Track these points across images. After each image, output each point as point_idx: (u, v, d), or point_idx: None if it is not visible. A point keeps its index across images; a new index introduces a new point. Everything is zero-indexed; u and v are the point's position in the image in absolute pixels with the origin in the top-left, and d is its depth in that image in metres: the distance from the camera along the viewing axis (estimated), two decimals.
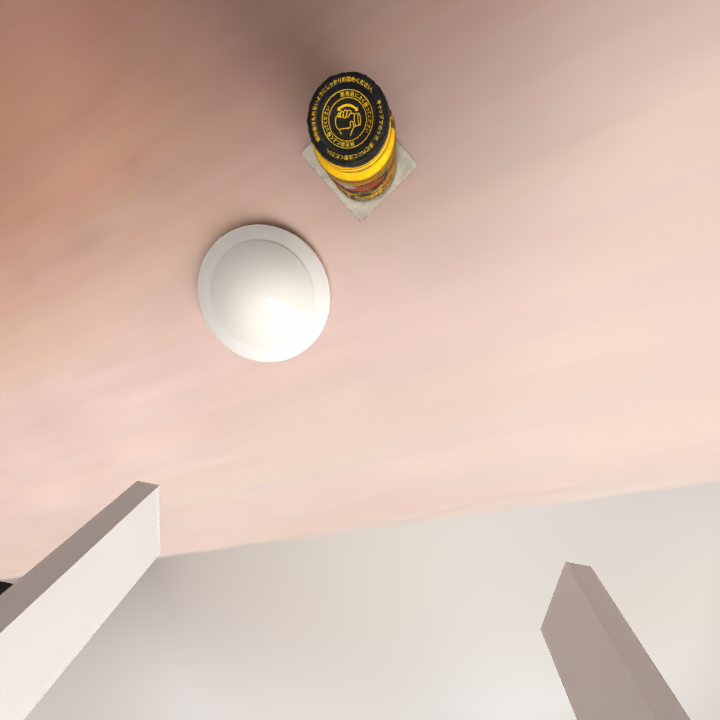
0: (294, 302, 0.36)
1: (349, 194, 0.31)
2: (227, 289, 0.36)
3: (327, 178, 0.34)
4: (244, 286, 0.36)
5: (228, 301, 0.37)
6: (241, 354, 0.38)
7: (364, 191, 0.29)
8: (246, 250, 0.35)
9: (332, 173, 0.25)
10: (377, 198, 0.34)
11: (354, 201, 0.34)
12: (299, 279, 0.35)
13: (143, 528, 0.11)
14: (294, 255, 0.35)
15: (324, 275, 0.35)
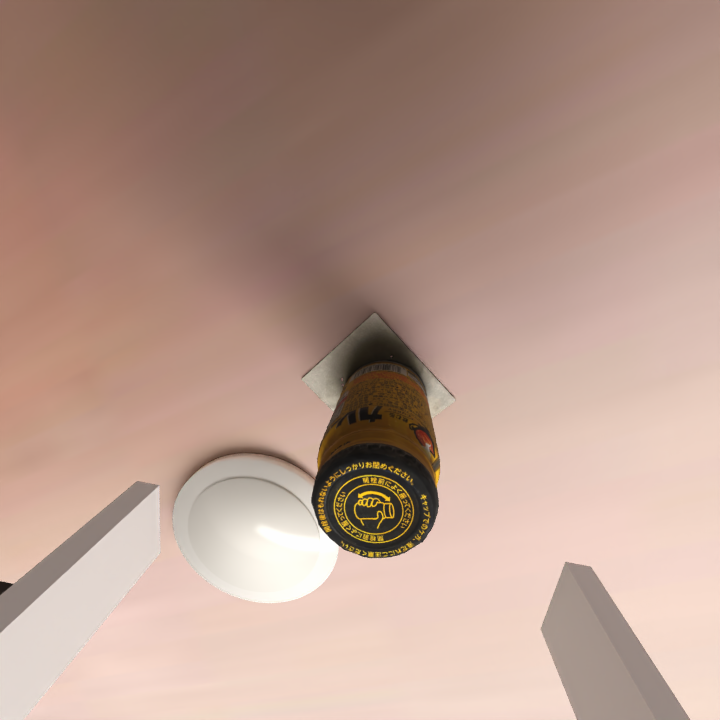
0: (294, 547, 0.28)
1: None
2: (209, 528, 0.29)
3: (336, 408, 0.26)
4: (231, 526, 0.28)
5: (211, 540, 0.29)
6: (229, 592, 0.31)
7: None
8: (233, 489, 0.27)
9: None
10: None
11: None
12: (300, 524, 0.28)
13: (143, 528, 0.11)
14: (294, 497, 0.27)
15: None
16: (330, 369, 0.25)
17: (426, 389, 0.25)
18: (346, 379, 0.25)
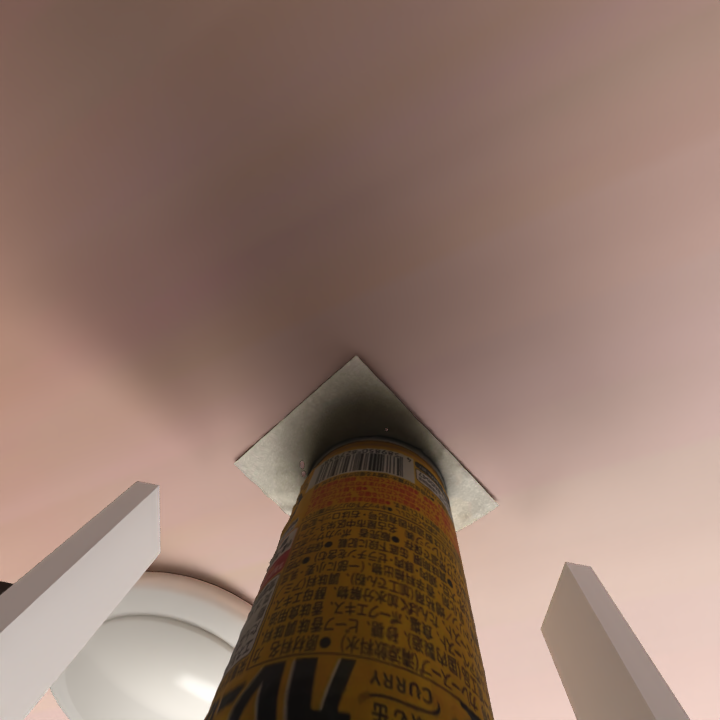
0: None
1: None
2: (99, 686, 0.18)
3: None
4: (132, 685, 0.18)
5: (103, 703, 0.18)
6: None
7: None
8: (129, 634, 0.17)
9: None
10: None
11: None
12: None
13: (143, 528, 0.11)
14: (228, 650, 0.17)
15: None
16: (281, 448, 0.15)
17: (447, 485, 0.14)
18: (309, 465, 0.15)
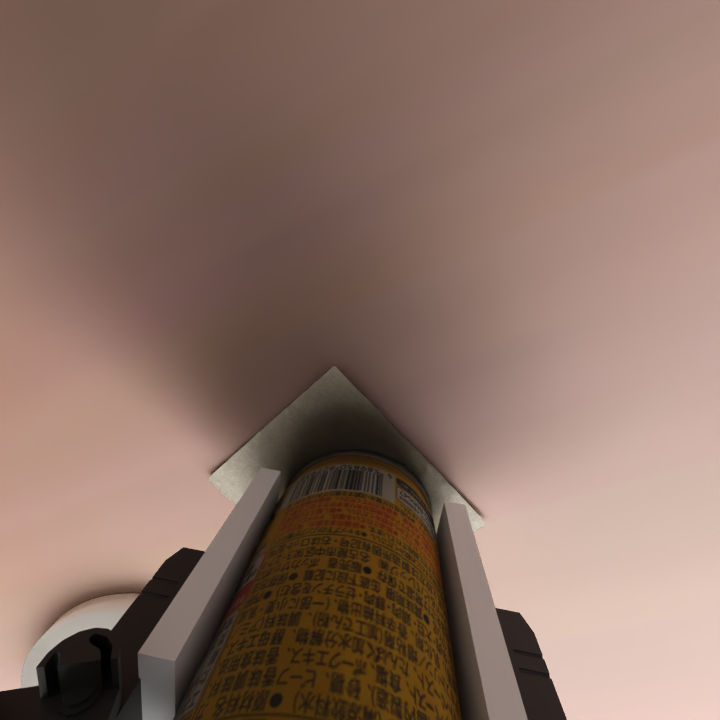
0: None
1: None
2: None
3: None
4: None
5: None
6: None
7: None
8: None
9: None
10: None
11: None
12: None
13: (271, 508, 0.13)
14: None
15: None
16: (257, 463, 0.14)
17: (432, 502, 0.14)
18: (287, 481, 0.14)
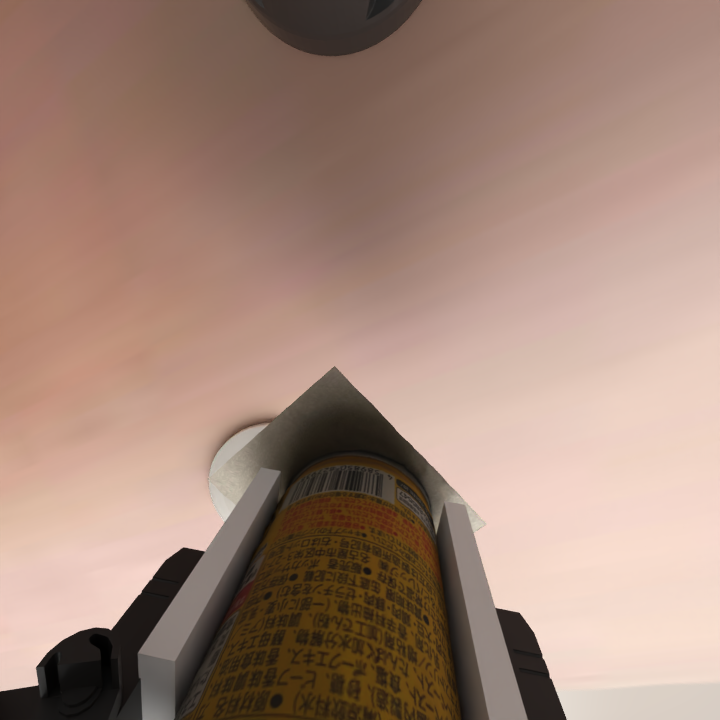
0: None
1: None
2: None
3: None
4: None
5: None
6: None
7: None
8: None
9: None
10: None
11: None
12: None
13: (271, 508, 0.13)
14: None
15: None
16: (257, 463, 0.14)
17: (432, 503, 0.14)
18: (287, 481, 0.14)
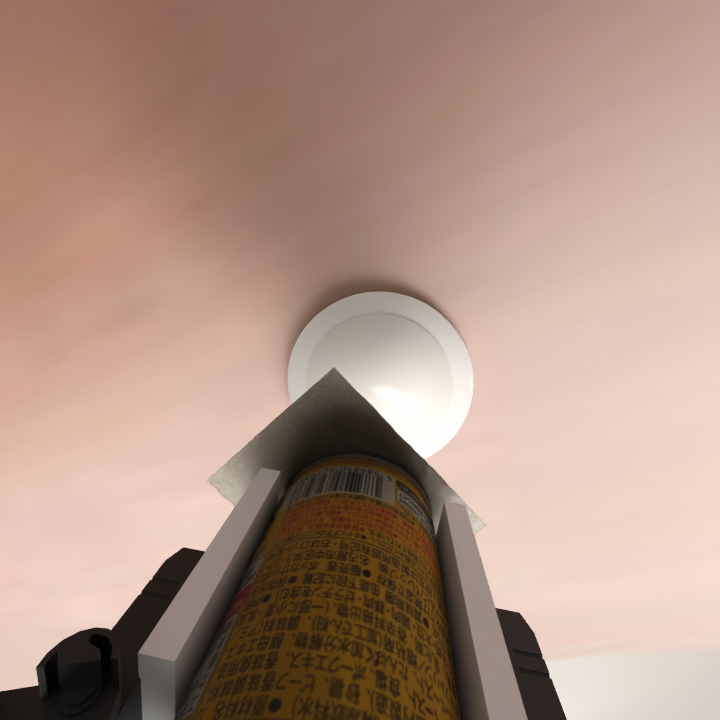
0: (424, 396, 0.26)
1: None
2: None
3: None
4: (354, 374, 0.26)
5: None
6: None
7: None
8: (361, 327, 0.25)
9: None
10: None
11: None
12: (434, 366, 0.25)
13: (271, 508, 0.13)
14: (429, 334, 0.25)
15: (469, 361, 0.25)
16: (257, 465, 0.14)
17: (432, 504, 0.14)
18: (287, 482, 0.14)
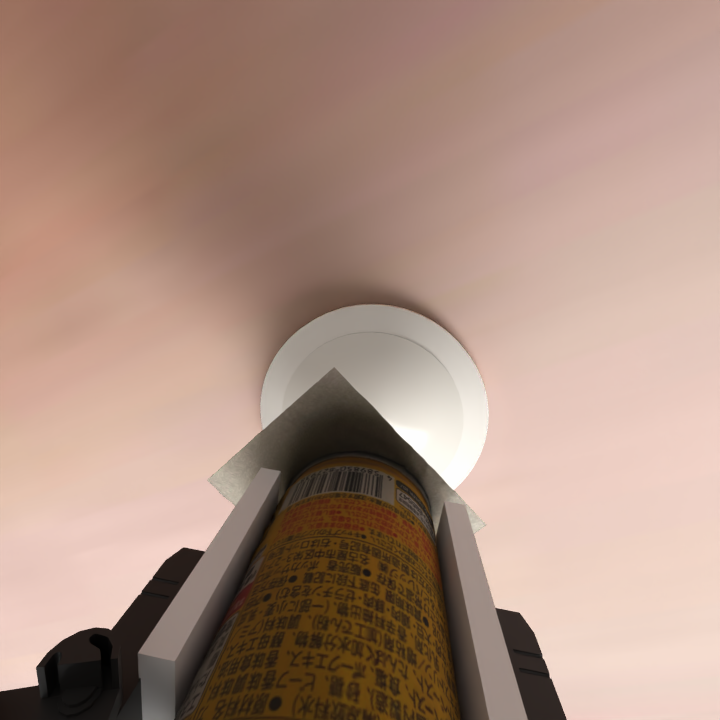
0: (427, 432, 0.21)
1: None
2: None
3: None
4: None
5: None
6: None
7: None
8: (350, 349, 0.20)
9: None
10: None
11: None
12: (440, 397, 0.21)
13: (271, 508, 0.13)
14: (434, 358, 0.20)
15: (483, 390, 0.21)
16: (257, 464, 0.14)
17: (432, 504, 0.14)
18: (287, 482, 0.14)
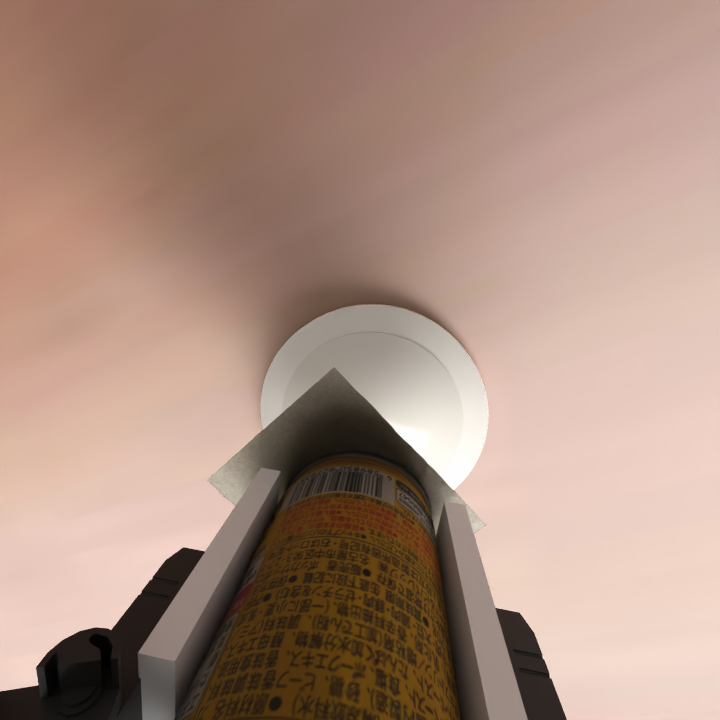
0: (427, 432, 0.21)
1: None
2: None
3: None
4: None
5: None
6: None
7: None
8: (350, 349, 0.20)
9: None
10: None
11: None
12: (440, 397, 0.21)
13: (271, 508, 0.13)
14: (434, 358, 0.20)
15: (483, 390, 0.21)
16: (257, 464, 0.14)
17: (432, 504, 0.14)
18: (287, 482, 0.14)
